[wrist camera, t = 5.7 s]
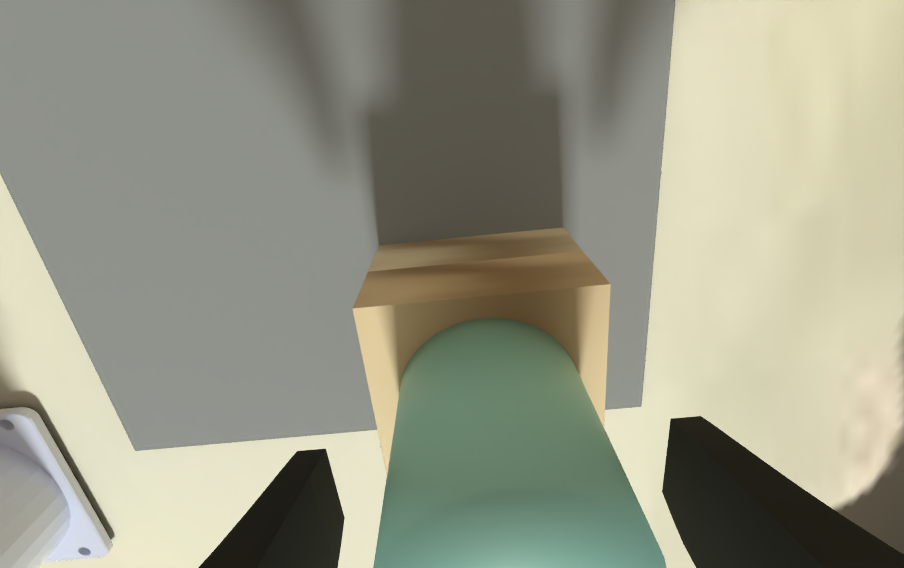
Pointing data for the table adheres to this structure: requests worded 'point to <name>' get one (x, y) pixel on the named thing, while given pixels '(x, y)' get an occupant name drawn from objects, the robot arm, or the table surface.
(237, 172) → the slate mat
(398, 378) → the oak slab top
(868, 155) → the table surface
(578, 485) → the green rounded knob
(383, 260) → the birch slab low
